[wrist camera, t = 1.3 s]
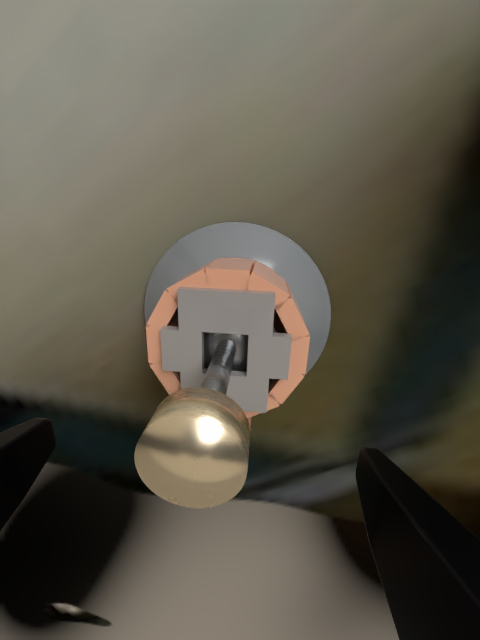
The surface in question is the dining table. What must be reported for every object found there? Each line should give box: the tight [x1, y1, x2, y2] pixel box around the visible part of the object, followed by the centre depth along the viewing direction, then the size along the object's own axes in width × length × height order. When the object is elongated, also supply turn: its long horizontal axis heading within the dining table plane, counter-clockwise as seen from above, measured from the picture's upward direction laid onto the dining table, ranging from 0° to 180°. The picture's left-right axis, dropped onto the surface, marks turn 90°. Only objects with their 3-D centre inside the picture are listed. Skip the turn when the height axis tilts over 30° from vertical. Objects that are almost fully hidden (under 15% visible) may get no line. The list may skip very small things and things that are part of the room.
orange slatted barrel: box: [146, 257, 310, 428], centre depth 17 cm, size 10×8×5 cm
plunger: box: [134, 325, 276, 508], centre depth 11 cm, size 5×5×8 cm
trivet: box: [144, 222, 331, 375], centre depth 19 cm, size 12×12×1 cm
